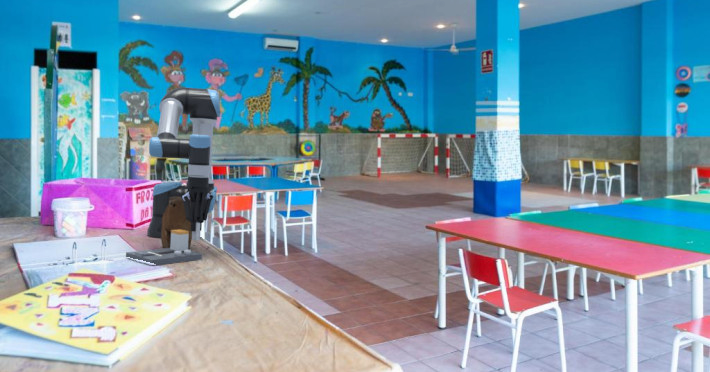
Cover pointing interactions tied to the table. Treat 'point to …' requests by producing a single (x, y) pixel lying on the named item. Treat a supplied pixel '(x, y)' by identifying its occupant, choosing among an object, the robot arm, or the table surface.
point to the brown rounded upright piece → (174, 221)
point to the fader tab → (179, 240)
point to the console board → (164, 256)
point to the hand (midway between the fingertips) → (195, 239)
